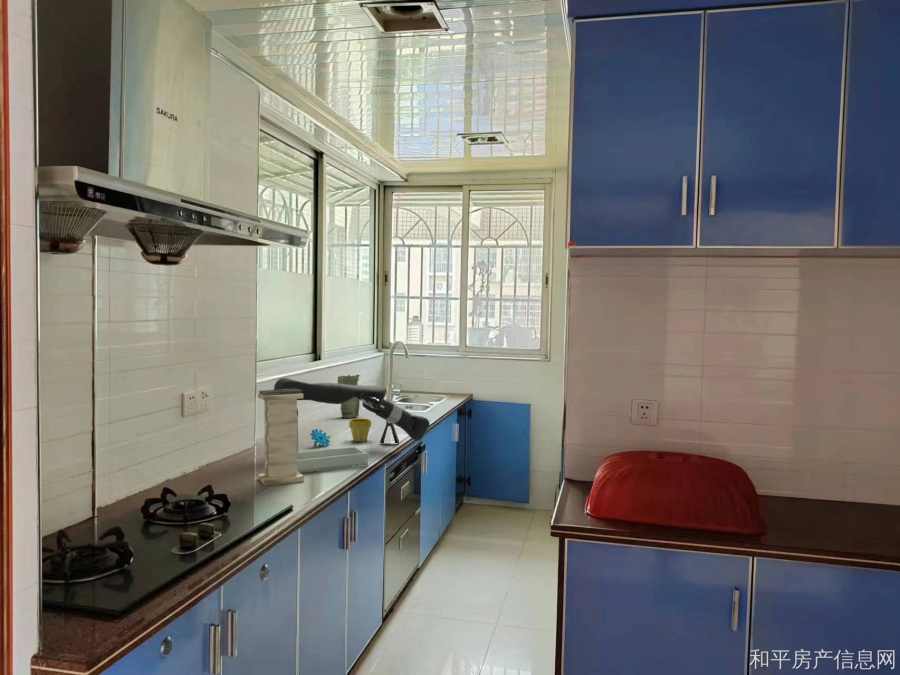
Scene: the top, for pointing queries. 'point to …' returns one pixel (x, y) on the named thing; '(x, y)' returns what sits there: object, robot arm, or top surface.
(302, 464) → the tray
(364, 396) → the robot arm
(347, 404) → the pouch
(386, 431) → the pliers
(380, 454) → the top surface
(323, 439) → the gear
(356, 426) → the plant pot
